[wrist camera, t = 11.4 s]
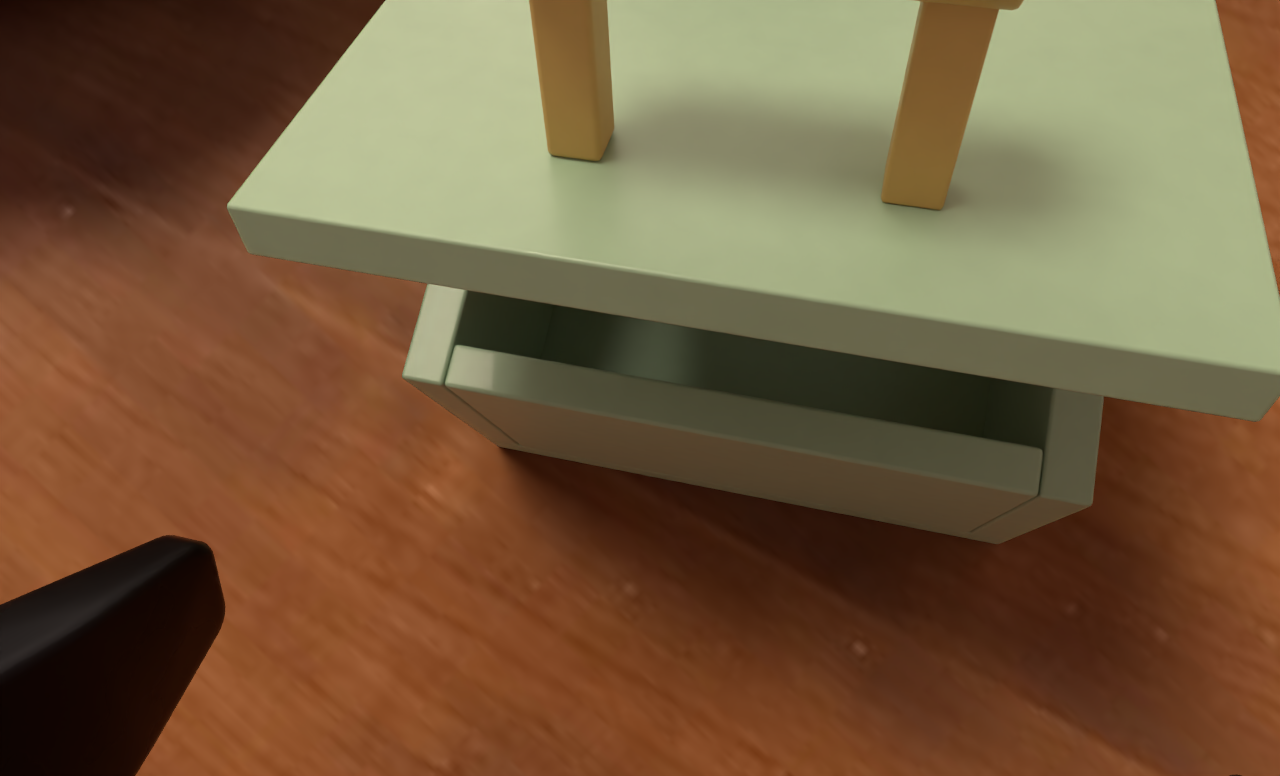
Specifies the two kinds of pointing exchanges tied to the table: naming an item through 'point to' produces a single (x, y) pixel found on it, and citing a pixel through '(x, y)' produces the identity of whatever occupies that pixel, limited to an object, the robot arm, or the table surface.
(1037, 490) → the green square box
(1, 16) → the table surface
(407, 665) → the table surface
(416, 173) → the box lid
